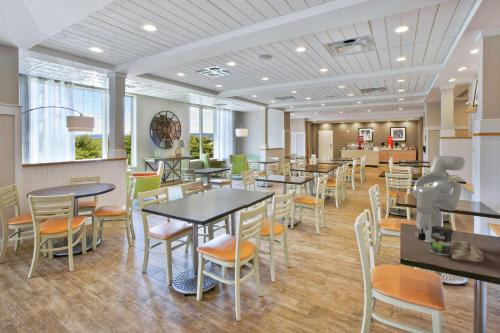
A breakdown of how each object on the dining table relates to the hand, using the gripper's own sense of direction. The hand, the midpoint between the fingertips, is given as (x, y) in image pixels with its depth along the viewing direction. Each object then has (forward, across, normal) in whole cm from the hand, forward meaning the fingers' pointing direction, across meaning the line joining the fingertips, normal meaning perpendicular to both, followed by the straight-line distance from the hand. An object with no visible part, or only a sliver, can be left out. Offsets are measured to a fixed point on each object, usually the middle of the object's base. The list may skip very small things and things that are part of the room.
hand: (421, 239), depth 165 cm
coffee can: (+6, 0, +10) cm, 12 cm away
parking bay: (+6, 0, +20) cm, 21 cm away
